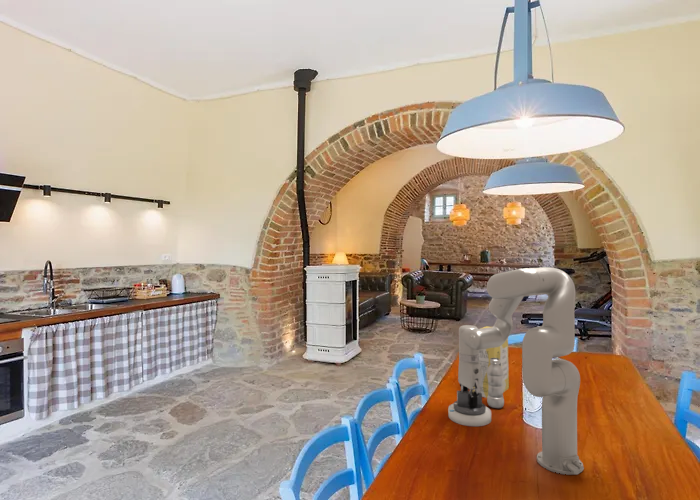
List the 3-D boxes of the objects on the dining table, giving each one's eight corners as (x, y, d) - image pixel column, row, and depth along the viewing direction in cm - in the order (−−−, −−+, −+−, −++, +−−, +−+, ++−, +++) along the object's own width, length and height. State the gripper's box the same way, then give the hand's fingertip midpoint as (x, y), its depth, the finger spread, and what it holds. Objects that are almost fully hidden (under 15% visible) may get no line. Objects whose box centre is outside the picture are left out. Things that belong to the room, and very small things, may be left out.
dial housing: (499, 424, 152) (499, 415, 152) (458, 427, 150) (458, 418, 150) (479, 408, 168) (479, 400, 168) (442, 410, 166) (442, 402, 166)
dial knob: (482, 403, 164) (482, 387, 164) (488, 416, 152) (488, 398, 152) (452, 402, 166) (452, 386, 166) (455, 414, 154) (454, 397, 154)
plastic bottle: (505, 410, 165) (505, 361, 165) (487, 409, 167) (487, 360, 167) (502, 404, 172) (502, 357, 172) (486, 403, 173) (485, 356, 173)
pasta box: (486, 383, 198) (486, 326, 198) (508, 388, 192) (508, 328, 192) (471, 394, 184) (470, 332, 184) (494, 399, 178) (494, 335, 178)
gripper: (490, 362, 152) (491, 411, 152) (465, 351, 168) (466, 395, 168) (472, 364, 150) (473, 414, 150) (449, 353, 166) (449, 397, 166)
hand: (469, 403), depth 159 cm, fingers closed on dial knob, 4 cm apart
